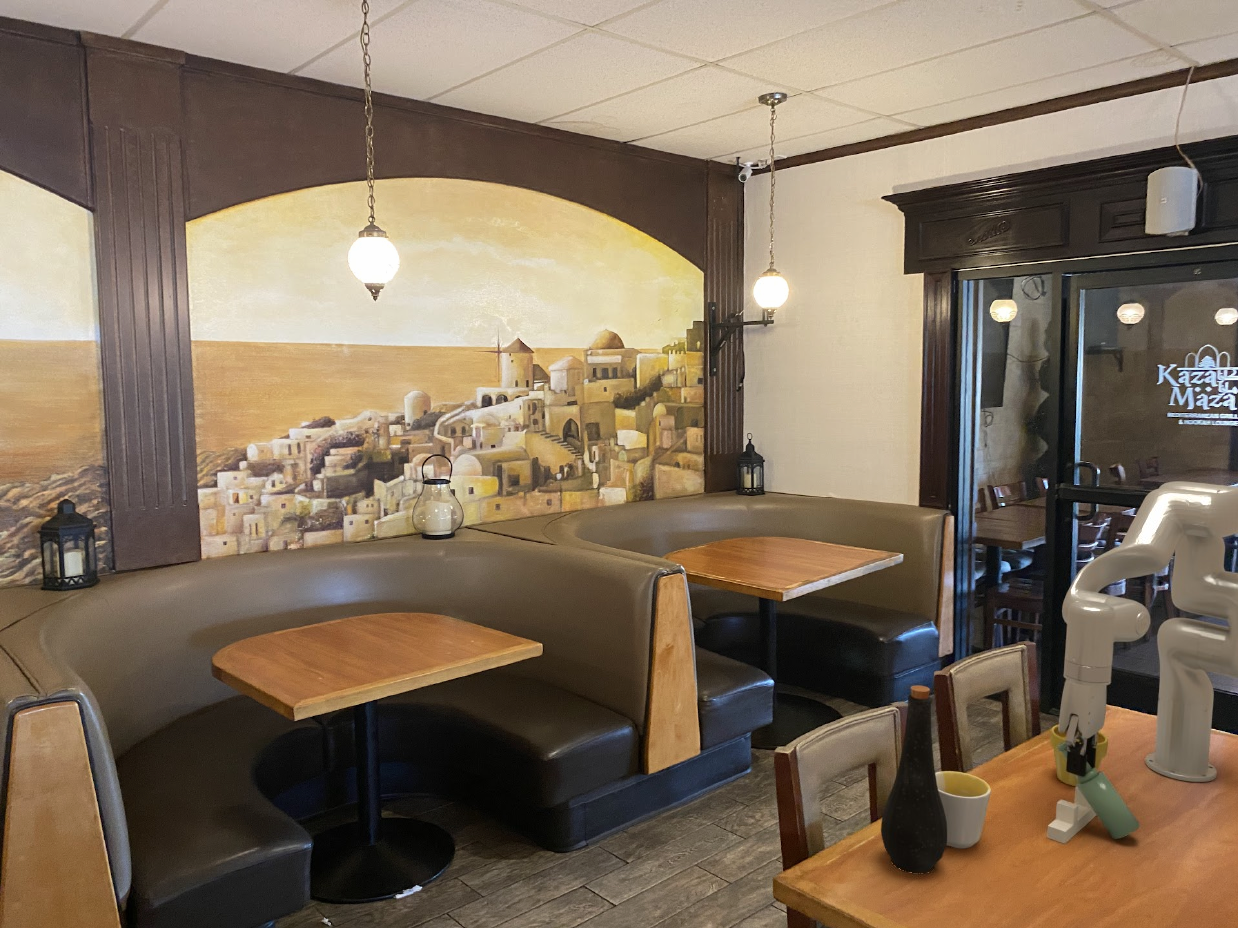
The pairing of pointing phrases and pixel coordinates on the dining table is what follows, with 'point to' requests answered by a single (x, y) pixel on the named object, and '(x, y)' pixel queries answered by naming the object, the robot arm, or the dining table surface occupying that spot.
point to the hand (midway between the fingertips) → (1080, 769)
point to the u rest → (1070, 818)
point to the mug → (963, 806)
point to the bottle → (915, 796)
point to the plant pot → (1061, 761)
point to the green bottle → (1105, 801)
